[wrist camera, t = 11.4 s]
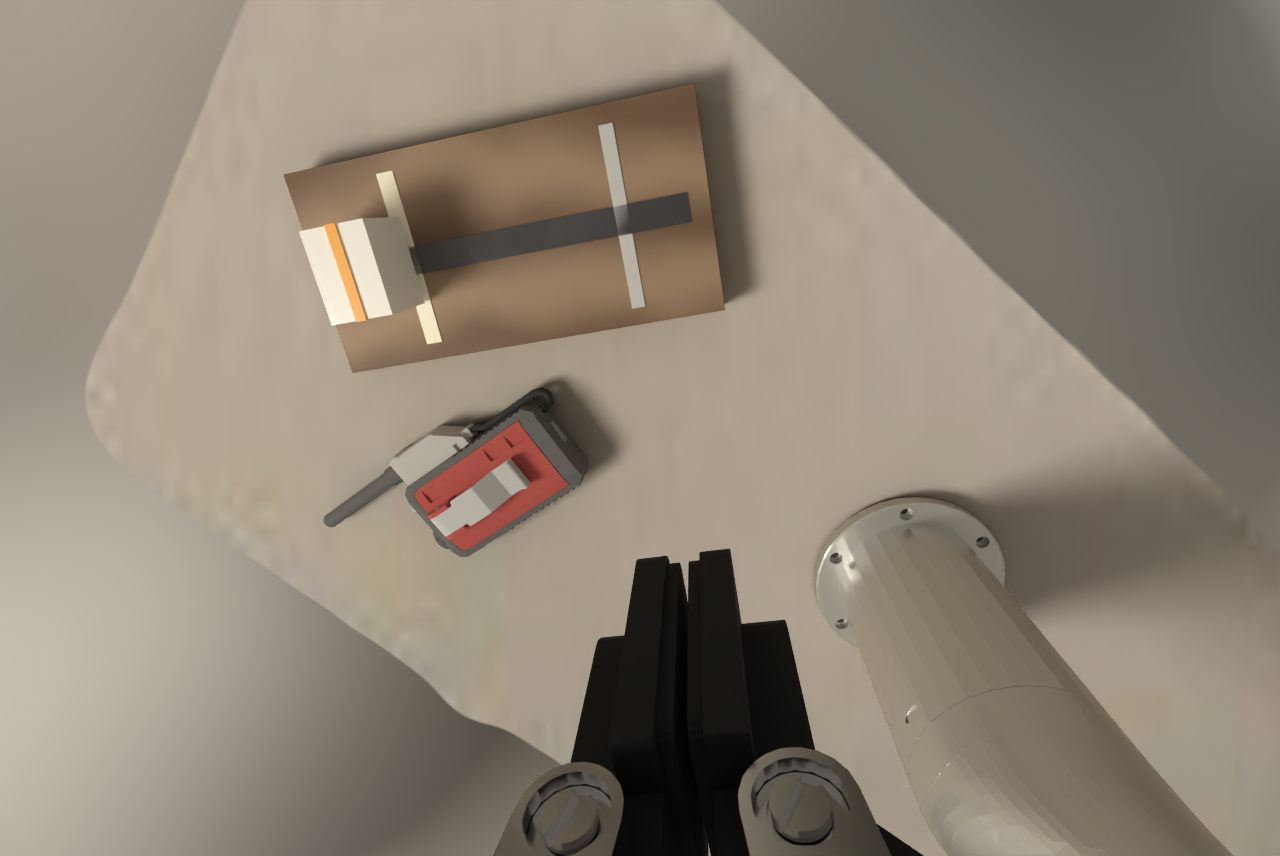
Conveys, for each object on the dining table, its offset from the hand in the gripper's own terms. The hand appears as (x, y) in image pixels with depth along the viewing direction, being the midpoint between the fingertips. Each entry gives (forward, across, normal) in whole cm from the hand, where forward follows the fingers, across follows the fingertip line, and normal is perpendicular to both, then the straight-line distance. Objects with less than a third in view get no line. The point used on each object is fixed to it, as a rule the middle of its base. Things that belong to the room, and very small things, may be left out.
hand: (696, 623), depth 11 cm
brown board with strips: (+29, +10, -7) cm, 32 cm away
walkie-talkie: (+30, +18, +8) cm, 36 cm away
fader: (+27, +17, -7) cm, 33 cm away
